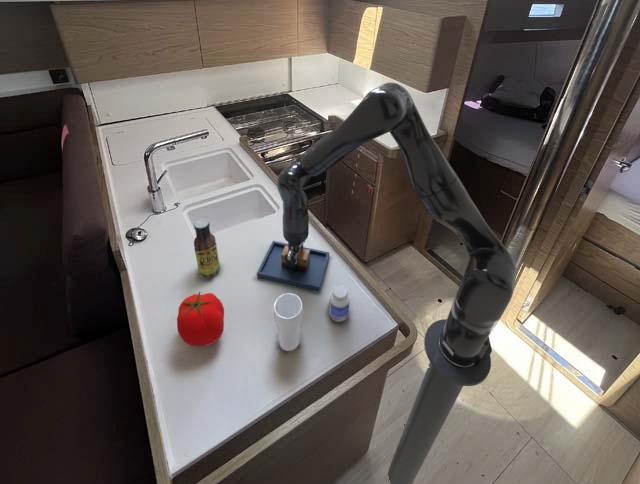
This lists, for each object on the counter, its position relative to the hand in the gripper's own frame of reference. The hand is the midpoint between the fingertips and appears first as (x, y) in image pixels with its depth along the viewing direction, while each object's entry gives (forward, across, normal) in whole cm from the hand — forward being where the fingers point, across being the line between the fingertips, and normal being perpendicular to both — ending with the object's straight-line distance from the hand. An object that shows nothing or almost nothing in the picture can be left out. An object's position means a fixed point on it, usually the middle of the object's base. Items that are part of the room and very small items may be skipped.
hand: (296, 263), depth 102 cm
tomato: (+2, -27, +16) cm, 31 cm away
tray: (+2, 0, 0) cm, 2 cm away
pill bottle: (+2, -12, -16) cm, 20 cm away
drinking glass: (+2, -23, -5) cm, 24 cm away
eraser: (0, 0, 0) cm, 0 cm away
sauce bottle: (+2, -9, +25) cm, 27 cm away
